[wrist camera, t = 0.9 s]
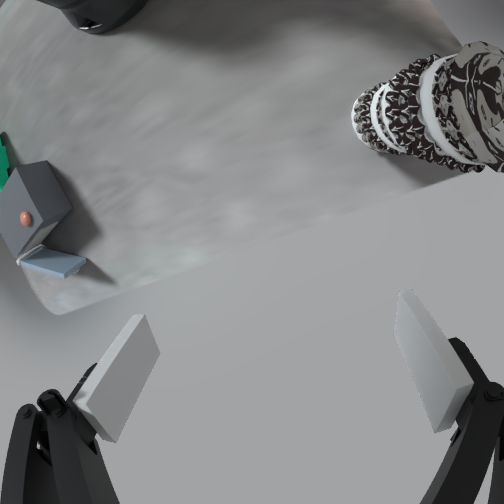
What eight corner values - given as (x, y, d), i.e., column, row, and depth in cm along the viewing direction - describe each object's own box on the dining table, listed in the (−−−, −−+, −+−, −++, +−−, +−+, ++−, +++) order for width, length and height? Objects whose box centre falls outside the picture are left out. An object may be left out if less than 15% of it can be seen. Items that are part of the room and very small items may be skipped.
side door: (38, 245, 43) (16, 258, 37) (87, 256, 43) (64, 273, 37) (39, 252, 44) (17, 266, 38) (87, 264, 43) (65, 281, 37)
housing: (15, 204, 41) (-15, 216, 34) (46, 160, 38) (12, 167, 30) (39, 247, 44) (10, 265, 36) (73, 208, 40) (41, 223, 33)
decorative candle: (376, 168, 34) (505, 220, 11) (333, 110, 32) (425, 62, 9) (424, 132, 32) (569, 145, 8) (384, 75, 29) (507, 13, 6)
